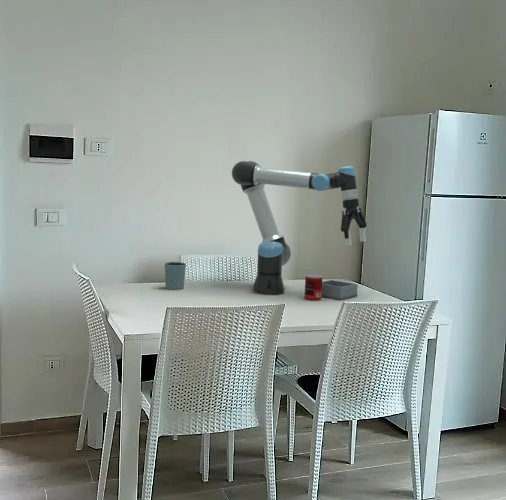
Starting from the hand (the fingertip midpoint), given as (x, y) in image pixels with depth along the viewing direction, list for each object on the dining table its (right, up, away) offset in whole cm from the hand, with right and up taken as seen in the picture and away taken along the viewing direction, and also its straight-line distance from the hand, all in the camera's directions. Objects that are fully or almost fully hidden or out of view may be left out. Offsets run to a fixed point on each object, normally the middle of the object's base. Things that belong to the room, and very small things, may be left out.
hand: (356, 243), depth 330 cm
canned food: (-22, -26, -12) cm, 36 cm away
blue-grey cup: (-86, -22, -1) cm, 89 cm away
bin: (-10, -25, -2) cm, 27 cm away
